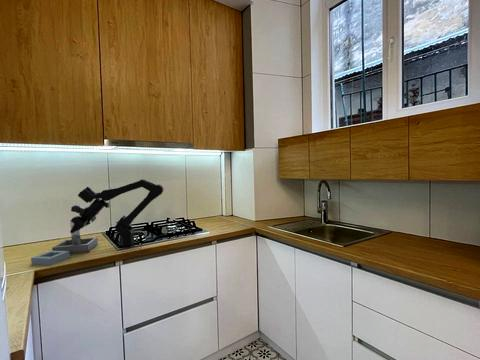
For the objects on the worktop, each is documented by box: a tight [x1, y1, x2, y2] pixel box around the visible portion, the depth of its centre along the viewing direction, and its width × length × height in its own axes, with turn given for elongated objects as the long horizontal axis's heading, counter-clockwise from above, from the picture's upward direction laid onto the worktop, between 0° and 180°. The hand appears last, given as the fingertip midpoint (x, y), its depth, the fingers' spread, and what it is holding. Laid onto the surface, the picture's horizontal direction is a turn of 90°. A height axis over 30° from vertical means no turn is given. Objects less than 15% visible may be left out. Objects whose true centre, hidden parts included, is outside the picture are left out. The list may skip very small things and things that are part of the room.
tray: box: [51, 236, 99, 255], centre depth 137 cm, size 16×14×4 cm
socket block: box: [30, 250, 71, 266], centre depth 121 cm, size 10×10×3 cm
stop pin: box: [69, 218, 82, 245], centre depth 136 cm, size 4×4×13 cm
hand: (72, 231), depth 136 cm, fingers closed on stop pin, 4 cm apart
